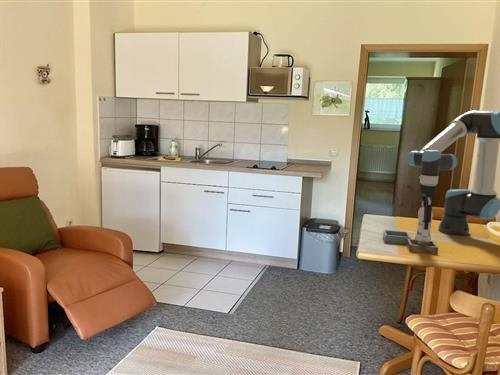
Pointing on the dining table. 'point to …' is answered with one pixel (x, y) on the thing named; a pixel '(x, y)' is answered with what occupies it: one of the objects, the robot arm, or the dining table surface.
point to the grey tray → (395, 236)
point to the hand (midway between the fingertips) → (423, 234)
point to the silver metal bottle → (421, 239)
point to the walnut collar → (422, 247)
